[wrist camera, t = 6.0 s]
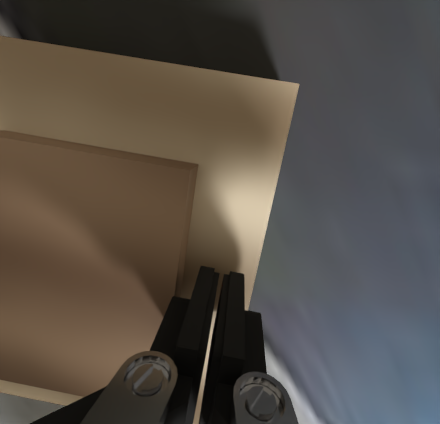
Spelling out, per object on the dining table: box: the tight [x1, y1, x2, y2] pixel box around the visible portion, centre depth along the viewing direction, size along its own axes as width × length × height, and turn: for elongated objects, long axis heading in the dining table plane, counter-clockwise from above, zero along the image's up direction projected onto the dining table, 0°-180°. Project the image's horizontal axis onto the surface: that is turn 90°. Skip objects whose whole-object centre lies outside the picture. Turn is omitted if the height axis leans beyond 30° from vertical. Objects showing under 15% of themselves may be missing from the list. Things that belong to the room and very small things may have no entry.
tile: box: [0, 130, 198, 397], centre depth 10 cm, size 10×7×2 cm
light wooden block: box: [0, 36, 299, 424], centre depth 12 cm, size 16×12×3 cm
